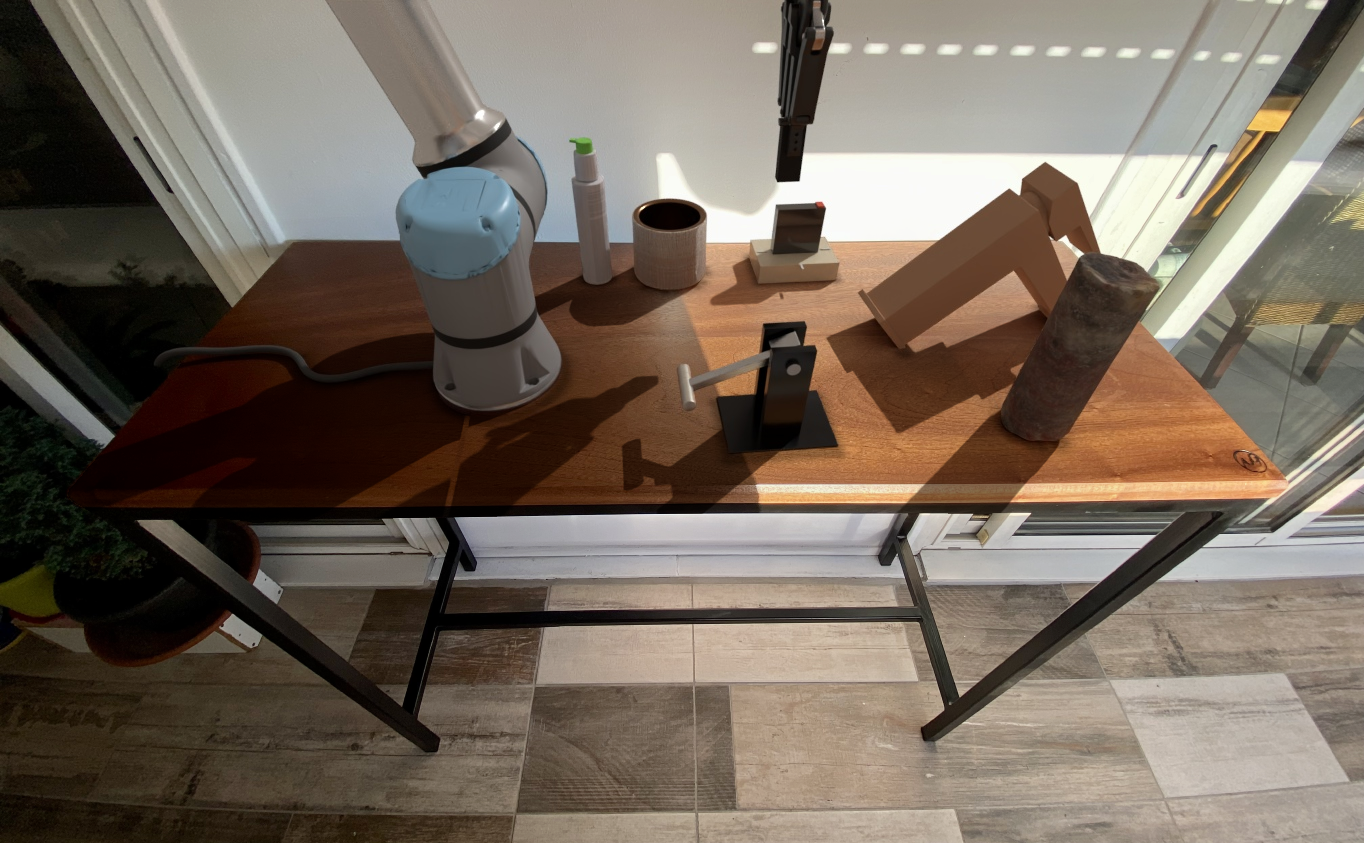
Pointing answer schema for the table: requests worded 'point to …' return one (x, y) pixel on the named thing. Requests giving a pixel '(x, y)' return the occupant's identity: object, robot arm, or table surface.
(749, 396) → the bracket
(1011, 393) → the grey-brown thick cylinder
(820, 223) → the red-tipped grey panel
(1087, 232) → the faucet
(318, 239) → the table surface
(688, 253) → the planter
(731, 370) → the tap lever
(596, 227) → the bottle
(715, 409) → the table surface
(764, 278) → the beige slotted base block
